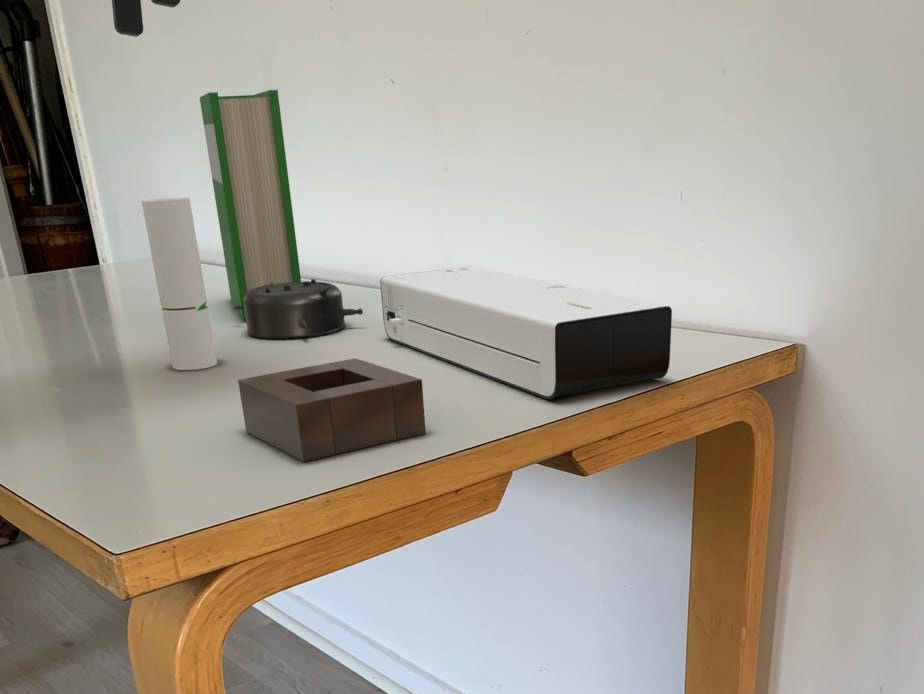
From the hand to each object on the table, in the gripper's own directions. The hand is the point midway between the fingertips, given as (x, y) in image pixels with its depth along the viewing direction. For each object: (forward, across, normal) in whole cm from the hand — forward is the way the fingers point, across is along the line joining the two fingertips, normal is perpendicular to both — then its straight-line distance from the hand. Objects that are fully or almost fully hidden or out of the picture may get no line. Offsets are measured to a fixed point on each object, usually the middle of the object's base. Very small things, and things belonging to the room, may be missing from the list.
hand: (146, 19), depth 80 cm
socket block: (+32, +21, +4) cm, 38 cm away
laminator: (+27, +11, +28) cm, 40 cm away
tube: (+27, -10, +5) cm, 29 cm away
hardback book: (+20, -35, +25) cm, 47 cm away
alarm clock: (+21, -11, +22) cm, 33 cm away
